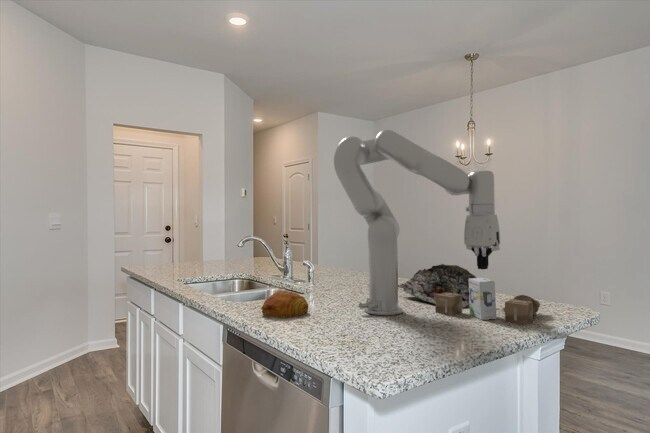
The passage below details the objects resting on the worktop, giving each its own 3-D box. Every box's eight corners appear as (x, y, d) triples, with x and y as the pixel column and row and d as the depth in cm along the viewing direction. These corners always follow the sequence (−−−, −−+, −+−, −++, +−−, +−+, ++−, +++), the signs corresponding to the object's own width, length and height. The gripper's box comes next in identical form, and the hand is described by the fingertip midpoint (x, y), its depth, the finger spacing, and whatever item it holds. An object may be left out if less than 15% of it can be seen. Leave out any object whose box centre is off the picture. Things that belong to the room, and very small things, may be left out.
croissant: (281, 313, 147) (279, 290, 148) (316, 312, 138) (313, 288, 139) (251, 320, 135) (249, 295, 136) (287, 320, 126) (285, 293, 127)
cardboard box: (451, 316, 132) (451, 296, 132) (435, 312, 137) (435, 294, 137) (462, 313, 136) (462, 294, 136) (446, 310, 141) (446, 292, 141)
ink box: (496, 320, 126) (496, 281, 126) (480, 320, 126) (480, 281, 126) (483, 313, 135) (483, 277, 135) (468, 313, 135) (468, 277, 135)
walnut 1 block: (526, 325, 120) (526, 304, 120) (504, 322, 124) (504, 301, 124) (532, 321, 125) (532, 301, 125) (511, 318, 129) (511, 298, 129)
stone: (509, 303, 141) (525, 286, 138) (529, 321, 137) (546, 304, 134) (497, 310, 131) (514, 292, 128) (518, 329, 127) (536, 311, 124)
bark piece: (491, 290, 149) (429, 268, 174) (484, 273, 146) (422, 254, 170) (460, 327, 143) (400, 299, 168) (452, 311, 139) (392, 285, 164)
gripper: (454, 211, 134) (455, 268, 134) (498, 209, 122) (499, 272, 122) (467, 211, 139) (468, 266, 139) (510, 209, 127) (512, 269, 127)
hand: (482, 268), depth 130 cm, fingers closed
